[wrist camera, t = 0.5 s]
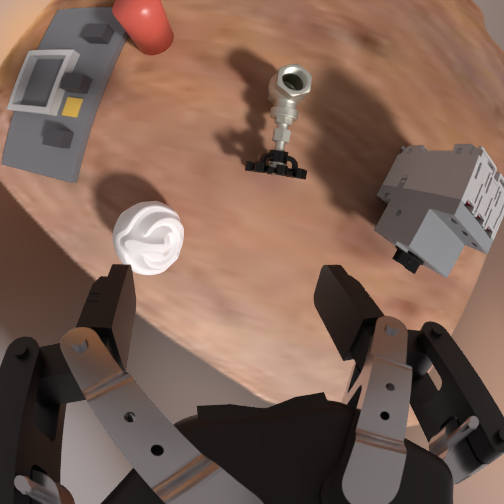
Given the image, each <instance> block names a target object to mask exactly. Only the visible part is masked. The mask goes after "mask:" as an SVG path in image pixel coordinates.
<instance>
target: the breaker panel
mask: <svg viewBox="0 0 504 504" xmlns="http://www.w3.org/2000/svg"><path fill="white" fill-rule="evenodd" d="M128 36H129V35H128V33H127V32H126V31H125V29H124V28H123V27H122V25H121V24H120V23H119V21H118V20H117V19H116V17H115V16H114V15H113V12H112V7H91V8H73V9H61V10H58V11H57V13H56V15H55V16H54V18H53V20H52V22H51V24H50V25H49V27H48V29H47V31H46V33H45V35H44V37H43V39H42V41H41V43H40V45H39V47H38V49H37V50H31V51H29V52H28V54H27V56H26V58H25V61H24V63H23V65H22V68H21V70H20V73H19V75H18V78H17V81H16V83H15V86H14V89H13V92H12V95H11V98H10V101H9V104H8V107H7V110H12V111H14V113H13V117H12V120H11V124H10V128H9V132H8V136H7V140H6V144H5V149H4V154H3V159H2V165H6V166H10V167H14V168H18V169H22V170H25V171H29V172H33V173H37V174H41V175H44V176H48V177H52V178H56V179H59V180H63V181H67V182H70V183H74V182H77V180H78V176H79V172H80V167H81V163H82V159H83V155H84V152H85V148H86V144H87V141H88V137H89V134H90V131H91V127H92V124H93V121H94V118H95V115H96V112H97V109H98V106H99V103H100V101H101V98H102V95H103V93H104V90H105V87H106V85H107V82H108V80H109V77H110V75H111V73H112V70H113V68H114V66H115V63H116V61H117V59H118V57H119V54H120V52H121V50H122V48H123V46H124V44H125V42H126V40H127V38H128Z"/></svg>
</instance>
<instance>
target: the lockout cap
mask: <svg viewBox="0 0 504 504" xmlns="http://www.w3.org/2000/svg"><path fill="white" fill-rule="evenodd" d="M112 12H113V15H114V16H115V17H116V19H117V20H118V21H119V23H120V24H121V25H122V27H123V28H124V29H125V31H126V32H127V33H128V35H129V36H130V37H131V39H132V40H133V42H134V43H135V44H136V46H137V47H138V48H139V50H140V51H141V52H142V53H144V54H146V55H156V54H159V53H162V52H164V51H165V50H166V49H168V48H169V47H170V45H171V44H172V42H173V37H174V36H173V32H172V29H171V27H170V24H169V22H168V19H167V16H166V14H165V11H164V8H163V6H162V3H161V0H116V1H115V2H114V4H113V7H112Z"/></svg>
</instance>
